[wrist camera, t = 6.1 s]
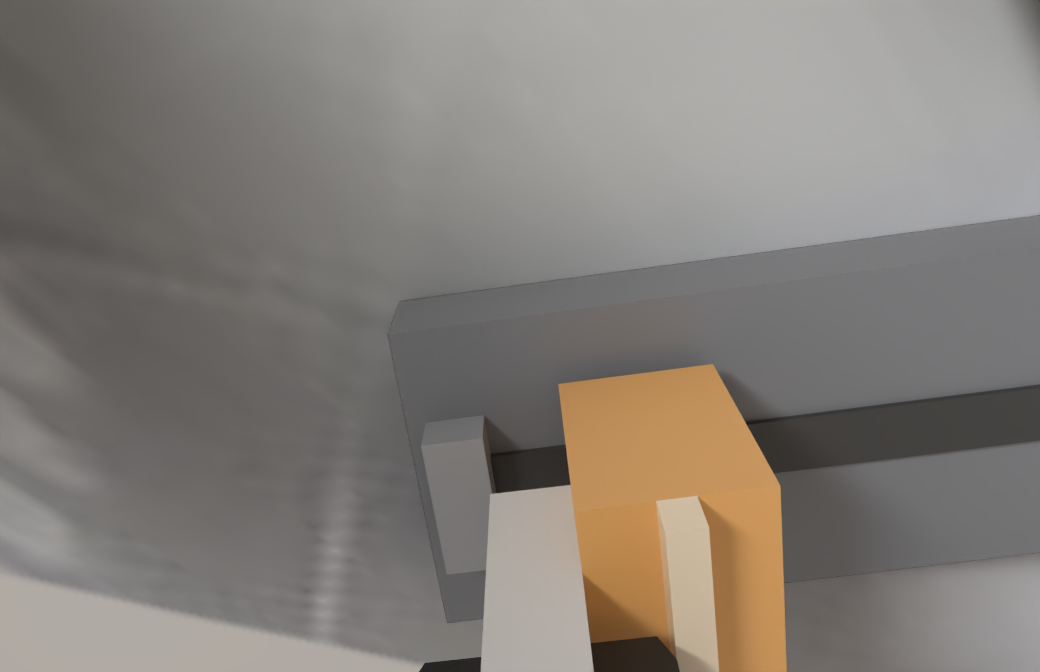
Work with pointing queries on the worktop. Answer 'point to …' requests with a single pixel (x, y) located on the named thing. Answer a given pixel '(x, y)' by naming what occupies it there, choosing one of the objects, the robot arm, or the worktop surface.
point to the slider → (676, 519)
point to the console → (760, 391)
